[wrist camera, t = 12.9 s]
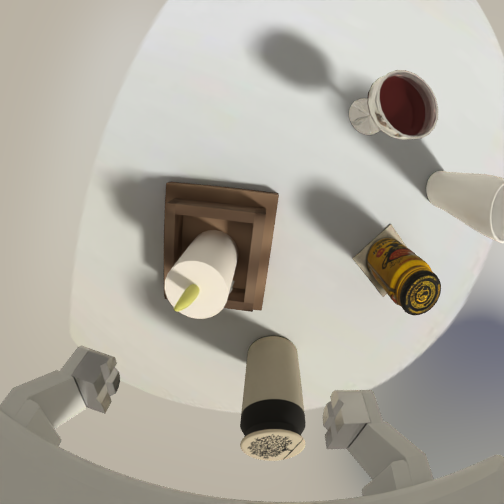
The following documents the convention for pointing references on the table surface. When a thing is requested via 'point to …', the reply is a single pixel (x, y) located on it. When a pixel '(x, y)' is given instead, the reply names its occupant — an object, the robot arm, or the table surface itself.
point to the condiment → (399, 273)
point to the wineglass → (396, 107)
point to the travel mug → (272, 401)
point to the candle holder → (230, 222)
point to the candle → (203, 275)
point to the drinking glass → (470, 200)
